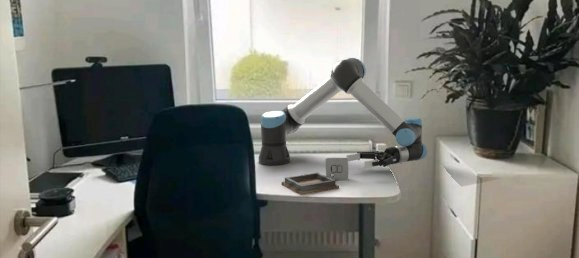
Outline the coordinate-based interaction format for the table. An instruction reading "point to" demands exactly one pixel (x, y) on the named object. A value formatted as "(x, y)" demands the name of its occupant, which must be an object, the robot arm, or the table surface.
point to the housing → (310, 183)
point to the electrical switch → (337, 168)
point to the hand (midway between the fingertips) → (355, 161)
